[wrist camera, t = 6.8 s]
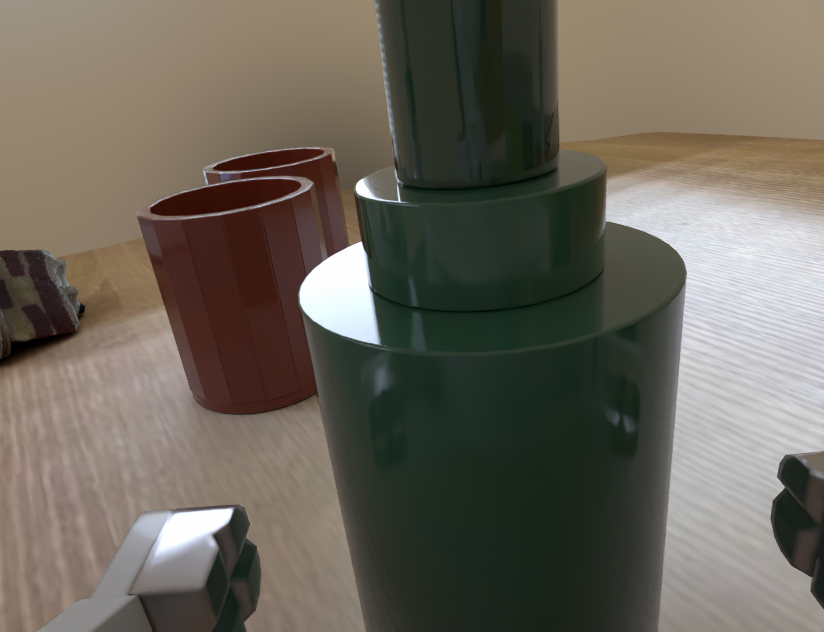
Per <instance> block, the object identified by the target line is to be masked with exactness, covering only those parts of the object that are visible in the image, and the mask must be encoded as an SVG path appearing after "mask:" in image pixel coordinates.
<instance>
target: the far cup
mask: <svg viewBox="0 0 824 632" xmlns="http://www.w3.org/2000/svg"><path fill="white" fill-rule="evenodd" d="M203 172H204V176H205V180H206V184H207V185H210V184H215V183H221V182H226V181H233V180H239V179H248V178H256V177H269V176H294V177H304V178H308V179H309V180H311V181H313V182H314V185H315V190H316V196H317V201H318V207H319V213H320V218H321V224H322V229H323V235H324V240H325V246H326V251H327V257H328V258H329V257H331V256H332V255H334V254H336V253H338V252H340V251H342V250H344V249H346V248H348V247H350V246H349V240H348V234H347V227H346V221H345V215H344V209H343V203H342V197H341V190H340V184H339V178H338V173H337V166H336V160H335V155H334V150H333V149H330V148H327V147H298V148H287V149H279V150H272V151H264V152H258V153H253V154H247V155H243V156H238V157H234V158H229V159H225V160H222V161H219V162H216V163H213V164H211V165H209V166H207V167H205V168H204V169H203Z"/></svg>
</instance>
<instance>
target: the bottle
mask: <svg viewBox="0 0 824 632" xmlns="http://www.w3.org/2000/svg"><path fill="white" fill-rule="evenodd" d="M374 3H375V10H376V19H377V27H378V36H379V43H380V51H381V60H382V68H383V76H384V84H385V92H386V100H387V109H388V116H389V124H390V132H391V141H392V149H393V157H394V165H395V166H391V167H388V168H385V169H382V170H380V171H377V172H374V173H372V174H370V175H368V176H366V177H365V178H363V179H361V180H360V181H359V182H357V184H356V185H355V187H354V196H355V203H356V209H357V216H358V222H359V229H360V235H361V242H360V243H357V244H355V245H353V246H350V247H348V248H346V249H344V250H342V251H340V252H338V253H336V254H334V255H332V256H331V257H329V258H328V259H326V260H324V261H323V262H322V263H320V264H319V265H318V266H317V267H315V268H314V269H313V270H312V271H311V272H310V273H309V274H308V275H307V276H306V277H305V279H304V281H303V282H302V284H301V286H300V289H299V293H298V307H299V312H300V316H301V321H302V326H303V331H304V336H305V340H306V345H307V350H308V355H309V360H310V364H311V369H312V374H313V379H314V384H315V388H316V393H317V398H318V403H319V408H320V412H321V417H322V422H323V427H324V432H325V436H326V441H327V446H328V451H329V456H330V460H331V465H332V470H333V475H334V480H335V484H336V489H337V494H338V499H339V504H340V508H341V513H342V518H343V523H344V528H345V532H346V537H347V542H348V547H349V552H350V556H351V561H352V566H353V571H354V576H355V580H356V585H357V590H358V595H359V600H360V604H361V609H362V614H363V619H364V624H365V628H366V632H658V623H659V611H660V599H661V586H662V574H663V562H664V549H665V537H666V525H667V512H668V500H669V488H670V475H671V463H672V451H673V438H674V426H675V414H676V401H677V389H678V377H679V364H680V352H681V340H682V327H683V315H684V303H685V290H686V278H687V271H686V267H685V263H684V261H683V259H682V258H681V256H680V255H679V254H678V252H677V251H676V250H674V249H673V248H672V247H671V246H670V245H669V244H667V243H665V242H664V241H662V240H661V239H659V238H657V237H655V236H653V235H650V234H648V233H646V232H643V231H640V230H637V229H634V228H631V227H628V226H624V225H620V224H616V223H612V222H607V221H606V184H607V165H606V163H605V162H604V160H602V159H601V158H599V157H597V156H595V155H592V154H588V153H584V152H579V151H573V150H564V149H559V83H558V82H559V71H558V0H374Z"/></svg>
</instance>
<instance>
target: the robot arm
mask: <svg viewBox="0 0 824 632" xmlns="http://www.w3.org/2000/svg"><path fill="white" fill-rule="evenodd" d="M777 478H778V479H779V480H780V481H781V483H782V484H783V485H784V487H785V489H784V490H783V491H782V492H781V493H780V494H779V495H778V496H777V497H776V498H775V499H774V500H773V503H772V511H771V523H772V528H773V533H774V537H775V540H776V542H777V544H778V546H779V548H780V550H781V552H782V553H783V555H784V556H785V558H786V559H787V560H788V562H789V563H790V565H791V566H793V567H794V568H796V569H798V570H800V571H801V572H803V573H805V574H807V575H808V576H810V577H812V581H811V591H810V592H811V593H812V594H813V596H814V597H815V598H816V600H817V601H818V602H819V604H820V605H821V606H822V608H823V609H824V451H821V452H810V453H800V454H790V455H785V456H784V458H783V459H782V461H781V462H780V464H779V469H778V474H777ZM249 526H250V522H249V519H248V516H247V513H246V510H245V508H244V507H243V506H241V505H239V504H238V505H223V506H208V507H194V508H179V509H176V510H158V511H145V512H144V513H142V514H141V515H139V516H138V517H137V518H136V520H135V521H134V523H133V525H132V526H131V528H130V530H129V531H128V533H127V535H126V537H125V538H124V540H123V542H122V543H121V545H120V547H119V549H118V550H117V552H116V554H115V555H114V557H113V559H112V560H111V562H110V564H109V566H108V567H107V569H106V571H105V572H104V574H103V576H102V578H101V579H100V581H99V583H98V584H97V586H96V588H95V590H94V591H93V593H92V595H91V596H90V598H89V599H83V600H78V601H77V602H75V603H74V604H73V605H71V606H70V607H69V608H67V609H66V610H65V611H63V612H62V613H61V614H59V615H58V616H57V617H55V618H54V619H53V620H51V621H50V622H49V623H47V624H46V625H45V626H44V627H42V628H41V629H40V630H38V631H37V632H246V628H245V625H244V622H245V621H246V620H247V619H248V618H249V617H250V616H251V615H252V614H253V613H254V612H255V611H256V607H257V603H258V599H259V595H260V586H261V565H260V558H259V554H258V550H257V546H256V545H254V544H253V543H252V542H251V541H249V540H248V539H247V538H246V535H247V532H248V529H249Z"/></svg>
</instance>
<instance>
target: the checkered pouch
mask: <svg viewBox="0 0 824 632" xmlns="http://www.w3.org/2000/svg"><path fill="white" fill-rule="evenodd" d="M66 265H67V263H66V262H65V261H63V260H60V259H55V258H53V257H52V255H51V254H50V252H48V251H45V250H20V251H15V250H4V251H0V359H1V358H4V357H7V356H9V354H10V350H11V343H10V342H12V341H20V342H25V341H28V340H31V339H42V338H45V337H48V336H55V335H59V334H67V333H73V332H76V330H77V328H78V327H79V325H80V323H79V321H78V318H77V315H78V314H82V313H83V312H84V310H85V306H84V305H83V304H80V303H79V302H78V301H77V295H78V289H77V288H76V287H74V286H69V284H68V281H67V279H66V276H65V269H66Z"/></svg>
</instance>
